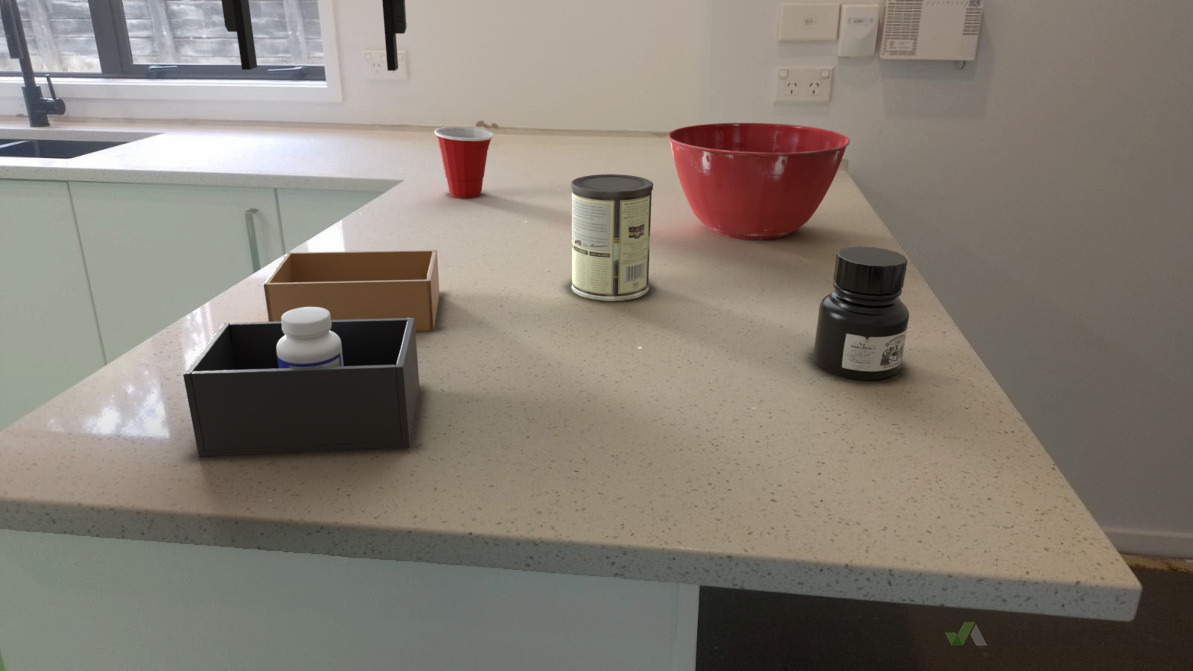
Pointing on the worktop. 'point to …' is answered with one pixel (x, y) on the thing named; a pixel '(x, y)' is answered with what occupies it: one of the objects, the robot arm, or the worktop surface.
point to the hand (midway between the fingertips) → (322, 69)
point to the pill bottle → (308, 340)
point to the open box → (304, 391)
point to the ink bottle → (863, 315)
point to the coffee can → (611, 236)
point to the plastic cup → (464, 158)
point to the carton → (357, 285)
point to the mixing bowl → (755, 175)
